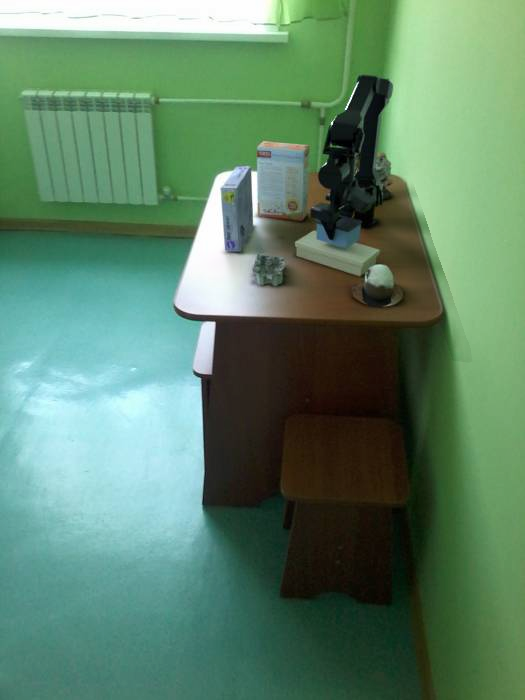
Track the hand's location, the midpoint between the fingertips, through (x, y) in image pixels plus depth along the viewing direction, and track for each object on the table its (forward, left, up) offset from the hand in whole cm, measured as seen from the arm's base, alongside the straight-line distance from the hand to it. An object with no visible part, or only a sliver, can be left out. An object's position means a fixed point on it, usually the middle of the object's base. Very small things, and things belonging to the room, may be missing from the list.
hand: (337, 235), depth 158 cm
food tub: (0, 0, -1) cm, 1 cm away
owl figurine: (-44, -17, -7) cm, 48 cm away
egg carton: (+18, -9, -7) cm, 21 cm away
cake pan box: (+5, -28, -7) cm, 30 cm away
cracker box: (-15, -28, -7) cm, 33 cm away
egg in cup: (+10, +17, -7) cm, 21 cm away
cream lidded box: (0, 0, -7) cm, 7 cm away
